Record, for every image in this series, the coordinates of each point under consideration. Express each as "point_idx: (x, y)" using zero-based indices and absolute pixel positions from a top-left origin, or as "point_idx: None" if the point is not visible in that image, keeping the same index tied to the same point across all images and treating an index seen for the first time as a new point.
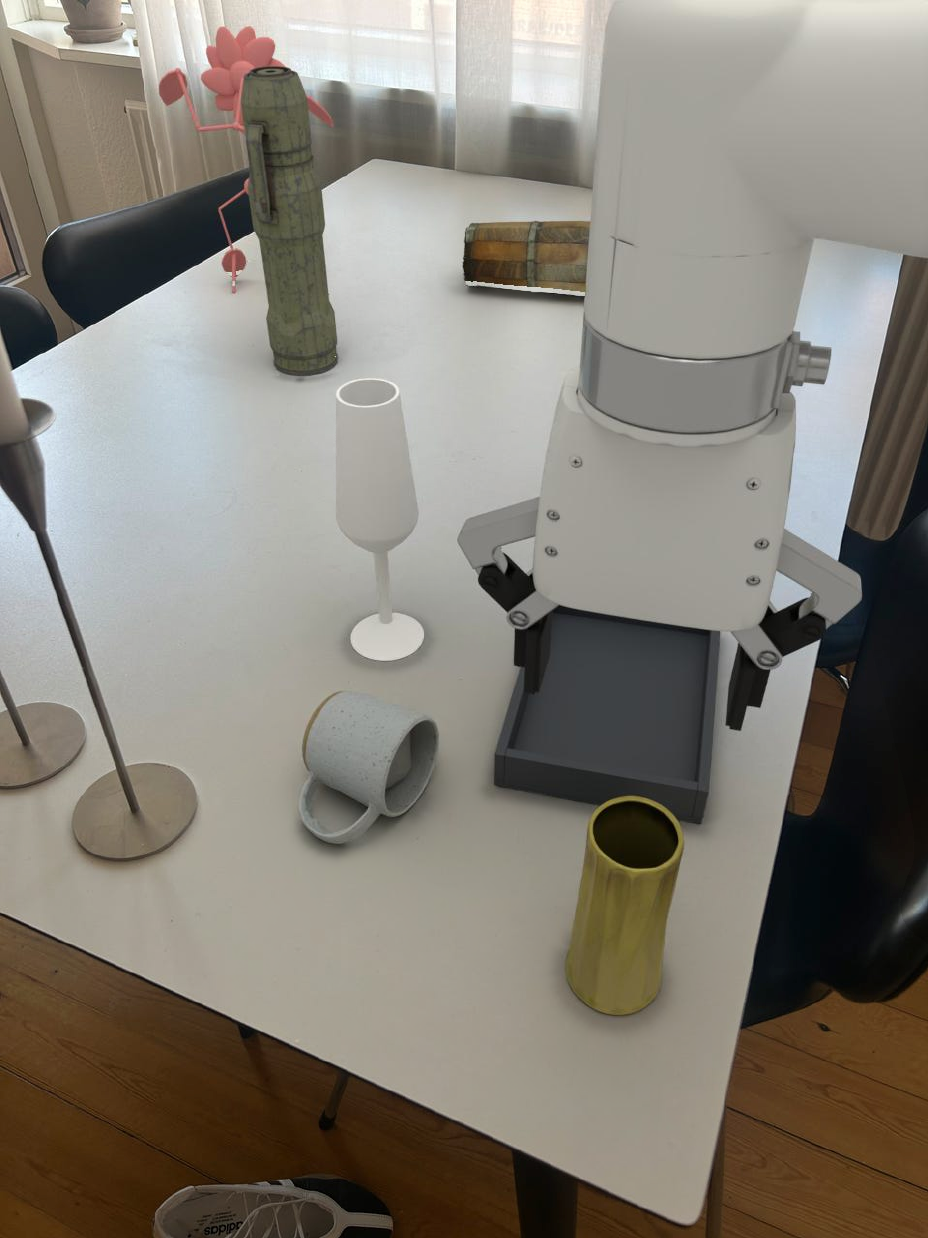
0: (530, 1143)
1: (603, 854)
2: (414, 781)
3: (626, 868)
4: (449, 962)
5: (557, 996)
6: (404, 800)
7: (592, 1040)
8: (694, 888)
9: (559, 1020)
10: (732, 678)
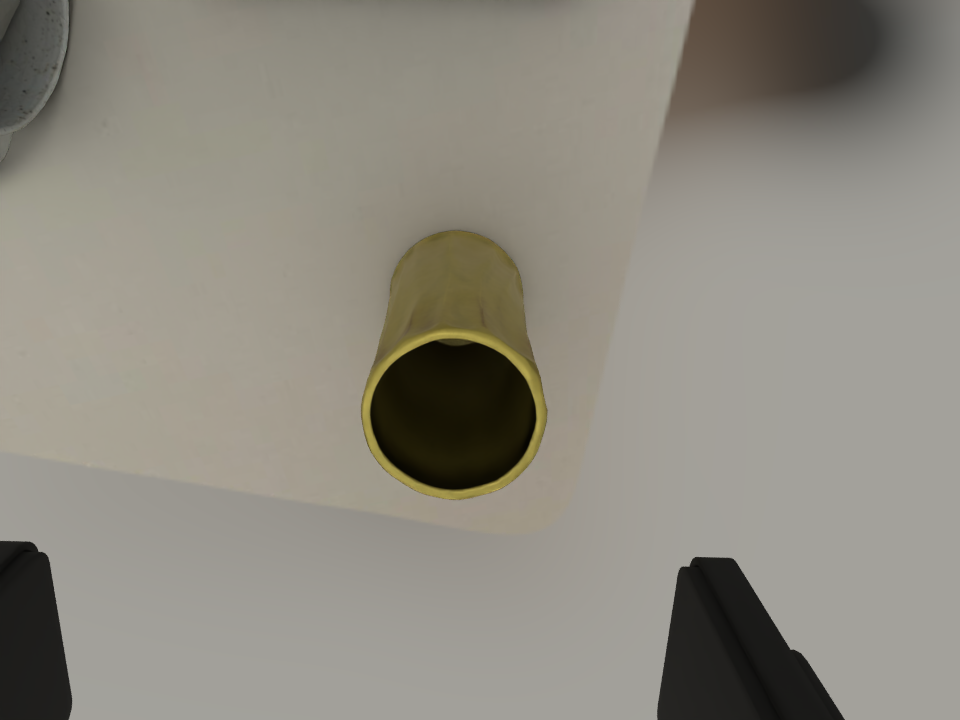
0: (390, 512)
1: (399, 477)
2: (42, 1)
3: (444, 497)
4: (234, 329)
5: None
6: (45, 51)
7: None
8: (567, 128)
9: None
10: (702, 693)
